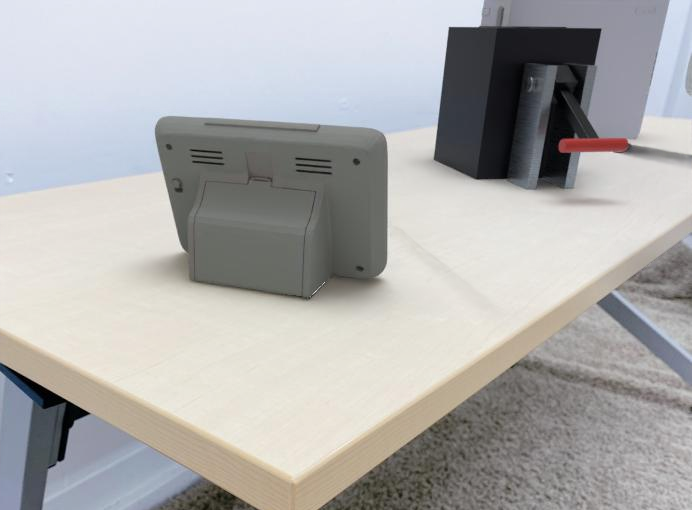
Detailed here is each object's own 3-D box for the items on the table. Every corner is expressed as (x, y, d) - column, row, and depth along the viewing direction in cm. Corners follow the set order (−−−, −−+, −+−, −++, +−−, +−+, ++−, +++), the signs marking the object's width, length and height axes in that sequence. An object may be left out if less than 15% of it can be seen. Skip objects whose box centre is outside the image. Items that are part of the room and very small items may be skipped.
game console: (456, 157, 94) (476, -9, 86) (601, 145, 105) (631, -4, 97) (486, 165, 89) (512, -11, 81) (635, 151, 100) (671, -6, 92)
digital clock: (398, 278, 49) (414, 120, 45) (337, 318, 43) (348, 137, 38) (213, 240, 58) (212, 104, 54) (138, 268, 51) (129, 115, 47)
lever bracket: (582, 201, 72) (609, 65, 66) (516, 202, 71) (539, 66, 65) (555, 190, 76) (579, 63, 71) (494, 191, 75) (513, 63, 70)
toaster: (570, 188, 77) (602, 27, 70) (474, 191, 75) (497, 26, 69) (517, 168, 88) (540, 26, 81) (432, 169, 86) (448, 25, 80)
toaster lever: (619, 159, 65) (633, 138, 63) (558, 160, 64) (570, 139, 62) (574, 85, 71) (585, 64, 69) (518, 86, 70) (528, 64, 68)
